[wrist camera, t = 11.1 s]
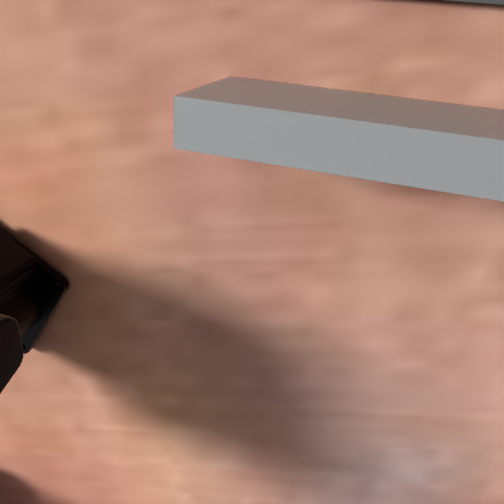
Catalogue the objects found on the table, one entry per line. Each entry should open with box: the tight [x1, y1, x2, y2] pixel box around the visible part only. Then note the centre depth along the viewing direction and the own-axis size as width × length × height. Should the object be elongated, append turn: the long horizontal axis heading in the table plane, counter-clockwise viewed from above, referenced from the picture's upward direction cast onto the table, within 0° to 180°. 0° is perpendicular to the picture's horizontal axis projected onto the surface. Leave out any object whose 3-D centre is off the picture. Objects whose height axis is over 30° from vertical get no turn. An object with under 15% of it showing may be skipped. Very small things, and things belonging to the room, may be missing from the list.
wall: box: [174, 77, 504, 202], centre depth 14 cm, size 18×2×5 cm, turn 85°
